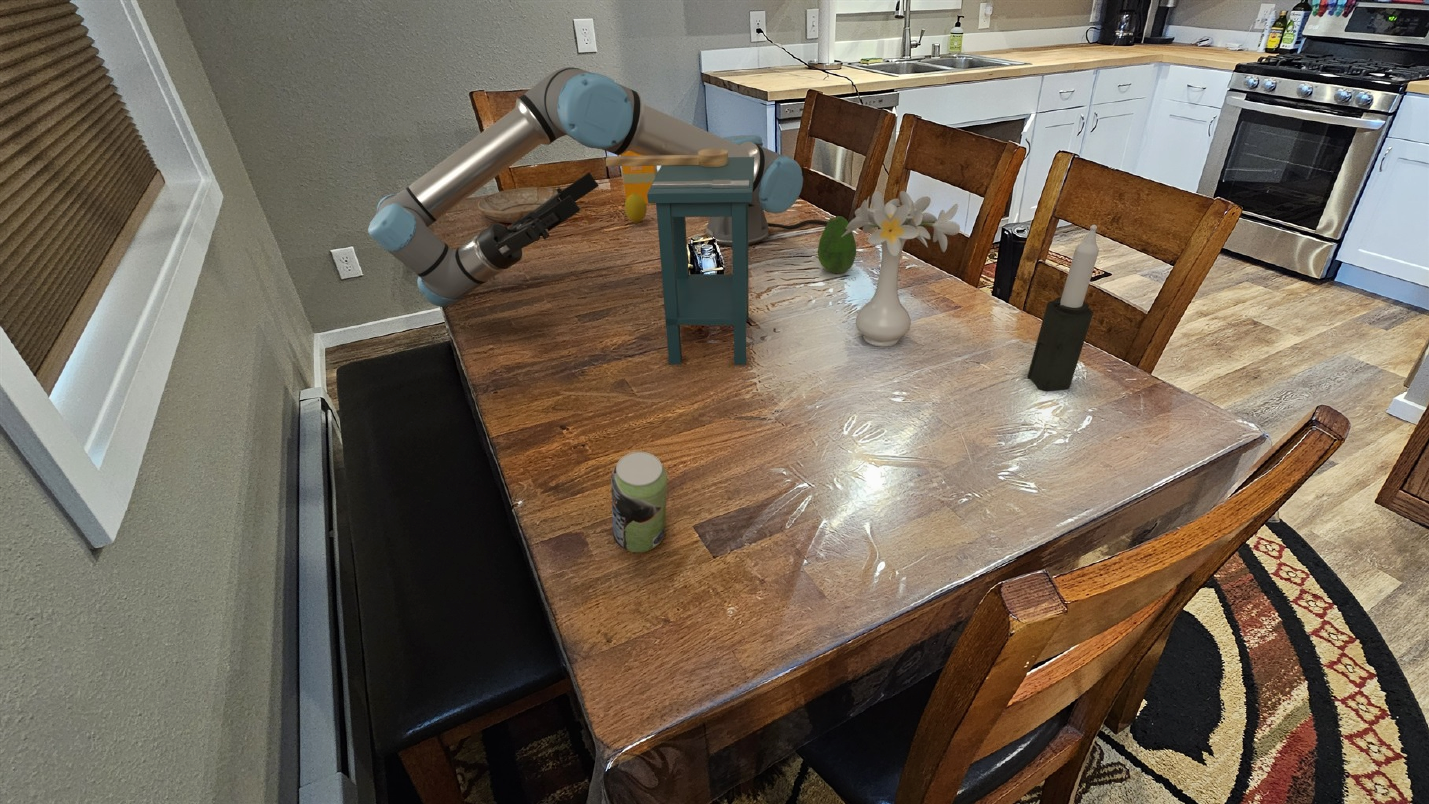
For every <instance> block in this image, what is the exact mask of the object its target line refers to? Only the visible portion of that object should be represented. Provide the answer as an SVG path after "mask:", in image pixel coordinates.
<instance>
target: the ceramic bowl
mask: <svg viewBox="0 0 1429 804" xmlns="http://www.w3.org/2000/svg"><path fill="white" fill-rule="evenodd" d="M556 189H557V188H556V187H555V188H554V187H549V186H546V187H545V186H530V187H517V188H511V189H506V190H500V191H498V192H497V191H496V192H494V193H491V194H489V195H487V196H484V197H482V198H481V199H480V200H479V201H478V202H477V208H478V211H479V212H480V213H481V214H482V215H483V216H484V217H486V218H488V219H490V220H492V221H495V222H499V223H503V224H504V223H507V224H512V223H514V222H515V221H516V220H518V219H521V218H522V217H524V216H525V215H526V214H528V213H529V212H533V211H534V210H535V209H537V208H538V207H539V206H541V205H542V204H543V203H545V202H546V201H548V200H549V199H550V198H552V197H553V196H554V195H556V194H557V193H558V192H557V190H556ZM559 199H560V198H559ZM560 201H561V200H560Z"/></svg>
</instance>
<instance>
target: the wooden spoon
mask: <svg viewBox="0 0 1429 804" xmlns="http://www.w3.org/2000/svg"><path fill="white" fill-rule="evenodd" d="M727 164H728V151H727V150H724V149H716V148H714V149H704V150H701V151H699V152H698V155H661V156H621V155H610V156H606V158H605V166H606V167H622V166H657V167H659V166H660V167H661V166H669V165H700V166H703V167H721V166H724V165H727Z"/></svg>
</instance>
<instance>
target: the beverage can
mask: <svg viewBox="0 0 1429 804" xmlns="http://www.w3.org/2000/svg"><path fill="white" fill-rule="evenodd" d="M610 486H611V487H610V488H611V489H610V490H611V492H610V493H611V518H612V519H611V520H612V523H611V525H612V537H613V539H614V541H615V543H616V544H617V545H618V546H619V547H620V548H621V549H623V550H625V551H628V552H631V553H645V552H649V551H651V550H653V549H655V548H656V547H658V546H659V545H660V544H661V542H662V541H663V539H664V537H665V531H666V530H665V529H666V514H667V513H666V510H667V493H668V492H667V491H668V473H667V471H666V468H665V467H664V465H663V464H662V462H661V460H660V459H659V458H658V457H657V456H656V455H654V454H652V453H650V452H647V451H633V452H629V453H626V454H625V455H624V456H622V457H620V458H619V460H618V461H617V463H616V464H615V466H614V468H613V469H612V472H611V476H610Z"/></svg>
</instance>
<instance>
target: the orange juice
mask: <svg viewBox="0 0 1429 804" xmlns="http://www.w3.org/2000/svg"><path fill="white" fill-rule="evenodd" d="M620 156H642V155H640V154H637V153H634V152H632V151H627V152H626V153H624V154H622V155H620ZM621 169H622V180H623V181H622V182H623V188H624V198H625V200H626V199H627V198H628V197H629V196H630V195H632V194H633V193H636V194H638V195H640V196H641V197H642V198H643V199H644V201H645V204H646V205H656V203H648V198H647V193H648V191H649V189H650V187H651V185H652V183H653V181H654V179H655V177H656V175H657V173H658V166H621Z"/></svg>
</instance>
